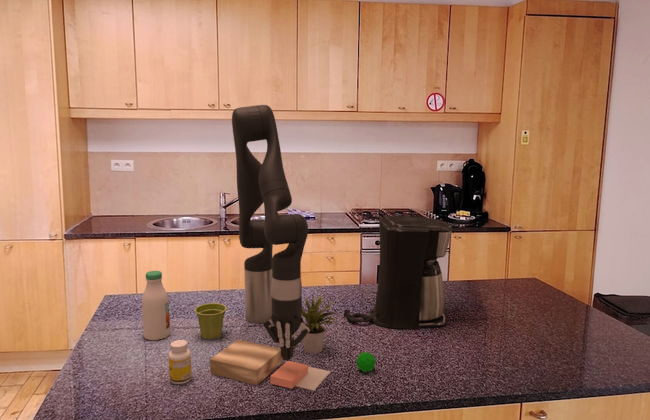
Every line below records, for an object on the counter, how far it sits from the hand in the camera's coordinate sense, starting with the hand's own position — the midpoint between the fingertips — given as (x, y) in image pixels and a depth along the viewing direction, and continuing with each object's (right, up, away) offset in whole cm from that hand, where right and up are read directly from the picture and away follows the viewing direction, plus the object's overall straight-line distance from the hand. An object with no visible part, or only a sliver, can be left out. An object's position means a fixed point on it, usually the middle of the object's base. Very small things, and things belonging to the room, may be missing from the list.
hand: (287, 359), depth 127 cm
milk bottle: (-41, -1, +25) cm, 49 cm away
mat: (+4, -5, +1) cm, 6 cm away
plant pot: (-25, -1, +26) cm, 36 cm away
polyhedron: (+20, -5, +5) cm, 21 cm away
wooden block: (-11, -4, +6) cm, 13 cm away
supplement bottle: (-27, -5, 0) cm, 27 cm away
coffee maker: (+34, +2, +43) cm, 55 cm away
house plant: (+6, -3, +16) cm, 17 cm away
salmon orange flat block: (+1, -3, 0) cm, 3 cm away
